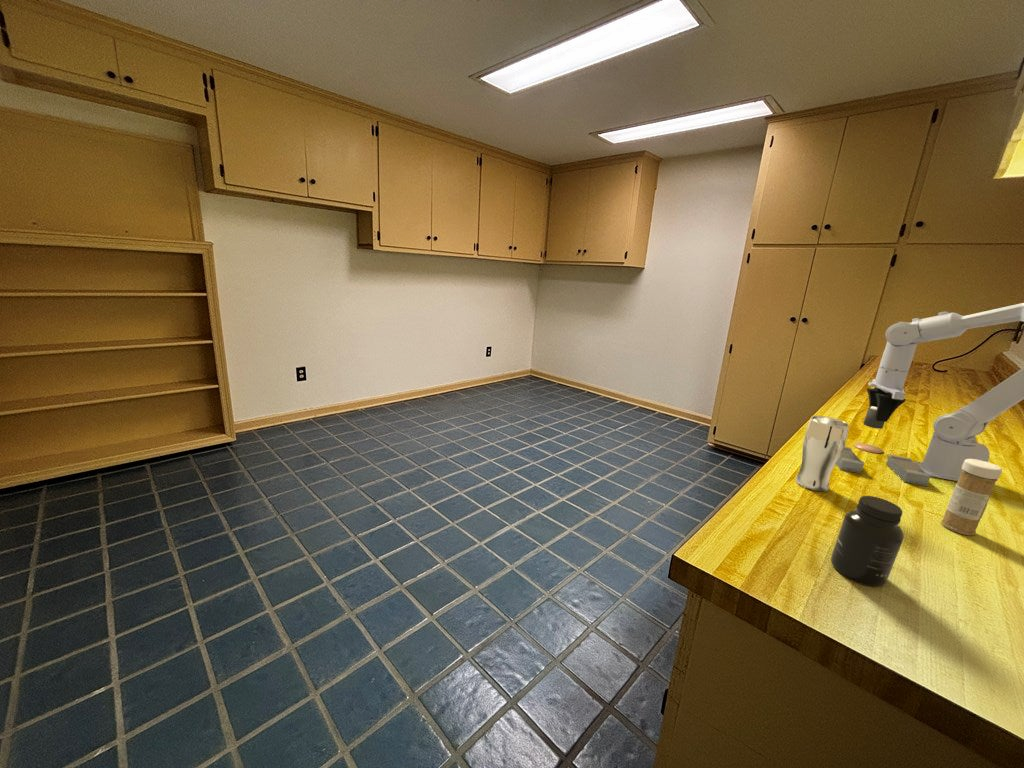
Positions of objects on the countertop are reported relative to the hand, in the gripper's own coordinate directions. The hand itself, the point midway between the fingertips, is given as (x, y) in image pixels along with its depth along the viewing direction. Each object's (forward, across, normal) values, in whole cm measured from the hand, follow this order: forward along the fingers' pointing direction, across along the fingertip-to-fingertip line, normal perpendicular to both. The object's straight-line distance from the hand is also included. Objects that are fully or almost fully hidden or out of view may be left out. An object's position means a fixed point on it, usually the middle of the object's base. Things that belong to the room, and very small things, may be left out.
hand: (877, 418), depth 109 cm
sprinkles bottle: (+9, +40, +2) cm, 41 cm away
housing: (+9, +16, -4) cm, 18 cm away
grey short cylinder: (+2, 0, 0) cm, 2 cm away
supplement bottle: (+9, +64, -20) cm, 67 cm away
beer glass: (+9, +33, -20) cm, 40 cm away
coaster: (+9, 0, 0) cm, 9 cm away
